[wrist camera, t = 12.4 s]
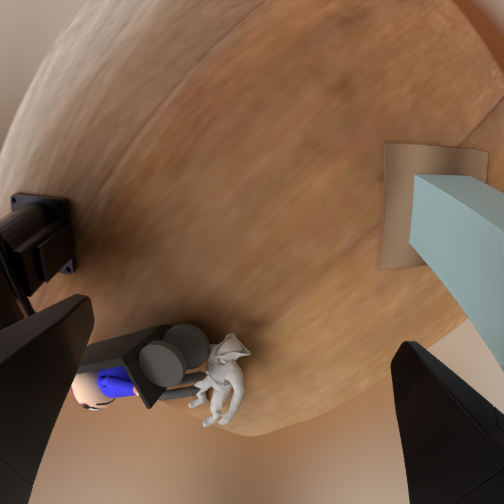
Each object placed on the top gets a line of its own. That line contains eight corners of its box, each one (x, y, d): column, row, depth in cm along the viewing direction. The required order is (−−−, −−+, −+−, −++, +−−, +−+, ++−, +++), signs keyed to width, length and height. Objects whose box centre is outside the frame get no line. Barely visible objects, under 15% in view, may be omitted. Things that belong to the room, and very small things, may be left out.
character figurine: (225, 348, 26) (103, 371, 29) (184, 287, 22) (61, 325, 25) (218, 426, 19) (82, 429, 22) (161, 370, 16) (28, 384, 19)
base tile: (373, 259, 22) (379, 269, 21) (379, 140, 18) (387, 143, 17) (463, 252, 22) (472, 259, 20) (477, 148, 18) (488, 152, 16)
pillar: (408, 242, 20) (516, 393, 7) (414, 174, 18) (570, 290, 5) (462, 238, 19) (573, 362, 7) (470, 176, 17) (616, 272, 5)
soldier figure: (172, 383, 30) (159, 329, 21) (208, 362, 32) (212, 301, 24) (215, 440, 26) (221, 414, 18) (252, 415, 28) (277, 375, 20)
